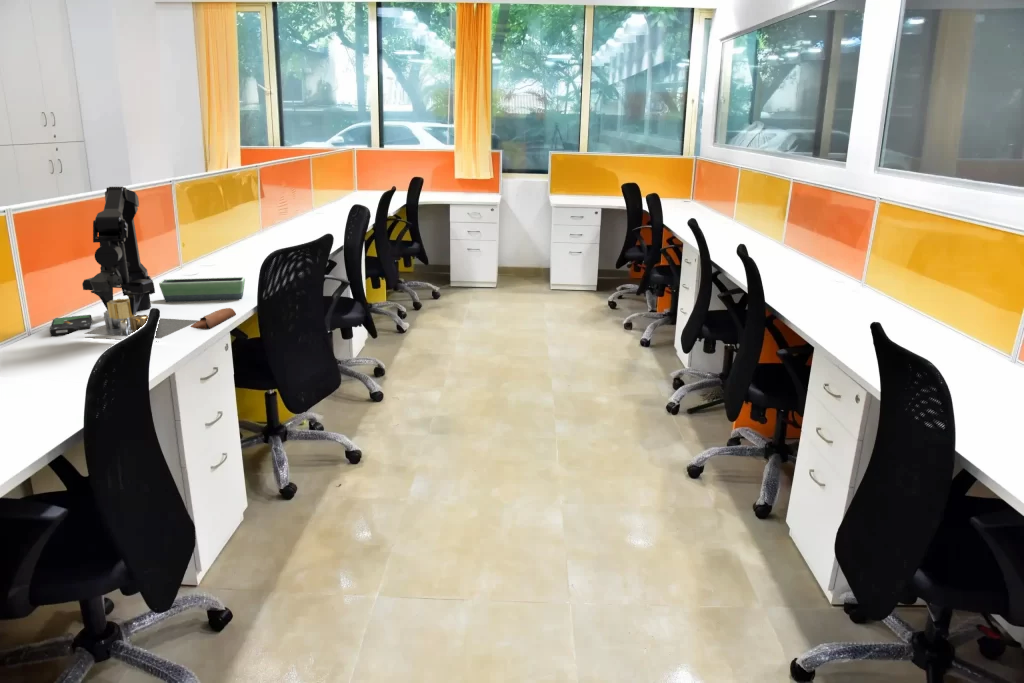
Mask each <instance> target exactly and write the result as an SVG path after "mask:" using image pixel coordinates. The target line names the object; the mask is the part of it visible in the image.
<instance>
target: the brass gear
mask: <svg viewBox="0 0 1024 683" xmlns="http://www.w3.org/2000/svg"><path fill="white" fill-rule="evenodd" d="M107 307H108V313H109V318H113V319H122V318H123V319H126V318H129V317H134V316H137V313H136V314H135V315H132V312H131V307H130V300H129V298H117V299H113V300H110V301H109V302H107Z"/></svg>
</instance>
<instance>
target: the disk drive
mask: <svg viewBox="0 0 1024 683" xmlns="http://www.w3.org/2000/svg"><path fill="white" fill-rule="evenodd" d="M92 319H93V318H92V314H84V315H74V316H65V317H55V318H53V319H52V322H51V324H50V328H49V332H50V337H52V338H53V337H61V336H62V337H63V336H67V335H70V334H73V333H76V332H78V331H83V330H91V327H92V325H93V320H92Z"/></svg>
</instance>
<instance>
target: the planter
mask: <svg viewBox="0 0 1024 683" xmlns="http://www.w3.org/2000/svg"><path fill="white" fill-rule="evenodd" d="M245 281H246V278H245V277H244V276H238V277H237V276H234V277H232V276H230V277H229V276H228V277H201V278H200V277H199V278H197V277H196V278H195V277H194V278H168V279H167V278H166V279H162V280H161V281H159V288H160V292H161V294H162V296H163V299H164V301H165V303H183V302H184V303H185V302H186V303H187V302H209V301H210V302H211V301H212V302H214V301H236V300H237V301H240V300H239V299H241V300H242V299H243V296H244V290H245Z"/></svg>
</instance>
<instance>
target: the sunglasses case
mask: <svg viewBox="0 0 1024 683" xmlns="http://www.w3.org/2000/svg"><path fill="white" fill-rule="evenodd" d="M236 315H237V313H236V311H235V309H233V308H232V307H225V308H221V309H218V310H214V311H213V312H211V313H209V314H207V315H206V314H205V315H204V316H203V317H200V318H199V320H198V322H196V323H194V324H191V325H189V326H190V327H191V328H193V329H198V330H199V329H200V330H201V329H202V330H211V329H213V328H215V327H217V326H219V325H221V324H223V323H224V322H226V321H227V320H230V319H232V318H234V317H235V316H236Z"/></svg>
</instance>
